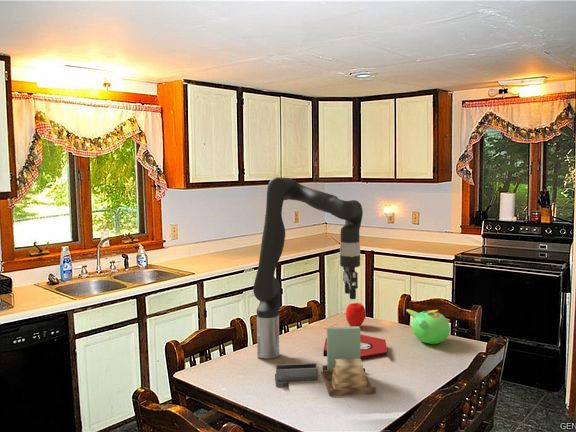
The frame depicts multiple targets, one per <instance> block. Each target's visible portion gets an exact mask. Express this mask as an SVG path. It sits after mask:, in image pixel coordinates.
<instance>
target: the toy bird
mask: <svg viewBox="0 0 576 432" xmlns="http://www.w3.org/2000/svg"><path fill="white" fill-rule="evenodd" d="M405 311H406V312H407V313H408V314H409V315H410V316H411V317H413V319H412V321H411V330H412V332H413V335H414V336H415V337H416V338H417V339H418V340H419V341H420V342H422V343H426V344H429V345H435V344H440V343H443V342H444V341H446V340H447V339H448V337H449V336H450V334H451V333H450V332H451V325H450V323H449V321H448V319H447V317H445V315H443V314H442V313H440V312H438V311H439V309H433V310H423V311H421V312H417V311H415V310H412V309H409V308H408V309H406V310H405Z"/></svg>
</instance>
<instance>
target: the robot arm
mask: <svg viewBox="0 0 576 432" xmlns="http://www.w3.org/2000/svg"><path fill="white" fill-rule="evenodd" d="M287 200H289V201H290V200H291V201H298V202H302V203H304V204H307V205H308V206H309V207H312V208H313V209H316V210H318V211H321V212H323V213H324V212H325V213H328V214H331V216H333V217H335V218H338V219H341V220H344V225H343V226H342V227H341V229H340V244H339V245H340V246H339V265H340V267H342V270H343V271H342V273H343V275H342V281H343V284H344V294H348V295H349V299H350V300H355V299H356V298H357V289H358V288H359V285H358V280H359V279H358V273H359V272H357V271H356V268H358V267H360V266H361V244H360V230H361V224H362V219H363V206H362V204H361V203H360V202H359V201H358V200H355V199H354V200H353V199H351V200H350V199H349V200H343V199H340V198H338V196H336V195H334V194H330V193H328V192H324V191H320V190H317V189H315V188H314V189H313V188H310V187H307V186H306V185H304V184H301V183H299V182H297V181H295V180H293V179H291V178H290V177H273V178H272V179H270V180H269V182H268V184H267V188H266V204H265V206H266V207H265V217H264V224H263V230H262V237H261V244H260V245H261V246H260V253H259V258H258V259H259V260H258V266H257V272H256V276H255V280H254V283H253V288H252V289H253V295H254V297H255V299H256V300H257V301H259V304H258V306H257V308H256V342H257V343H256V344H257V346H256V347H257V358H259V359H260V358H261V359H266V360H267V359H269V360H271V359H275V358H278V357H279V356H280V308H281V296H282V295H281V284H280V282H279V279H277V277H275V272H276V268H277V266H278V263H279V260H280V258H281V256H282V253H283V250H284V247H285V240H286V228H285V224H284V221H283V216H282V215H283V214H282V213H283V211H282V210H283V205H284V201H287Z"/></svg>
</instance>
